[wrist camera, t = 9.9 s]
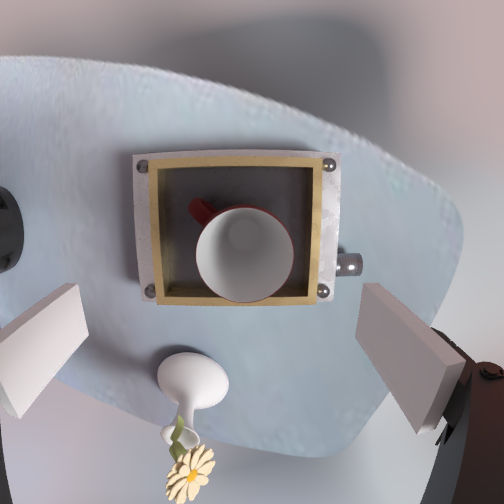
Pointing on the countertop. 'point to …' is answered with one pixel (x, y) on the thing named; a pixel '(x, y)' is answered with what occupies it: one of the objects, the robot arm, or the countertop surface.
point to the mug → (241, 251)
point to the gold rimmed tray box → (233, 193)
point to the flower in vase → (189, 418)
